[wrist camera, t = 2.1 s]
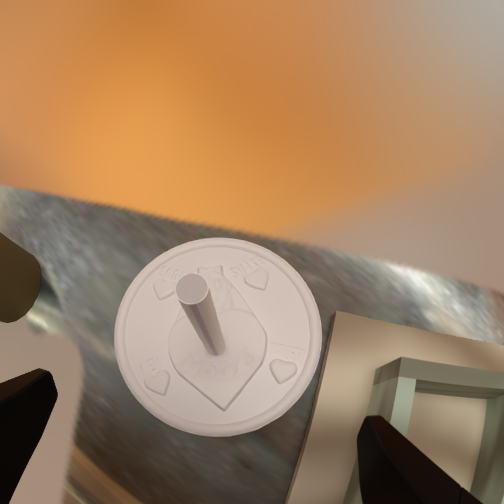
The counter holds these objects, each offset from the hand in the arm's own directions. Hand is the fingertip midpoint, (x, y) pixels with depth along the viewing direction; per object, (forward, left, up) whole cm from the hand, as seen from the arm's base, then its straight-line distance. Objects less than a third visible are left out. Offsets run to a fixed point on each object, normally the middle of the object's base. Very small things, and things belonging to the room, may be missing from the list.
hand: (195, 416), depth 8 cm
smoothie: (+3, 0, -10) cm, 11 cm away
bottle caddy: (0, -13, -10) cm, 16 cm away
